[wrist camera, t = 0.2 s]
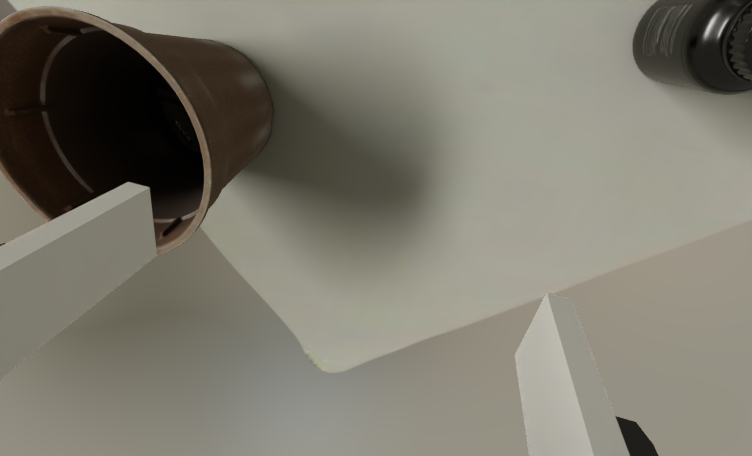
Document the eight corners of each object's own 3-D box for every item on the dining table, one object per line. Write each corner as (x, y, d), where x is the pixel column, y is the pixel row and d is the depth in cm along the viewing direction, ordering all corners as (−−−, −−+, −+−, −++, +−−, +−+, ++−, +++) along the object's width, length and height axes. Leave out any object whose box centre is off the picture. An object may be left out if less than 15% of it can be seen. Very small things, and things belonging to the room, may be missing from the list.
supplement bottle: (666, 99, 33) (766, 131, 23) (610, 42, 32) (689, 47, 22) (750, 28, 31) (910, 26, 20) (693, -38, 29) (830, -77, 19)
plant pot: (329, 119, 39) (259, 171, 25) (229, 211, 45) (128, 294, 31) (204, -27, 35) (34, -68, 21) (114, 96, 42) (-62, 130, 27)
